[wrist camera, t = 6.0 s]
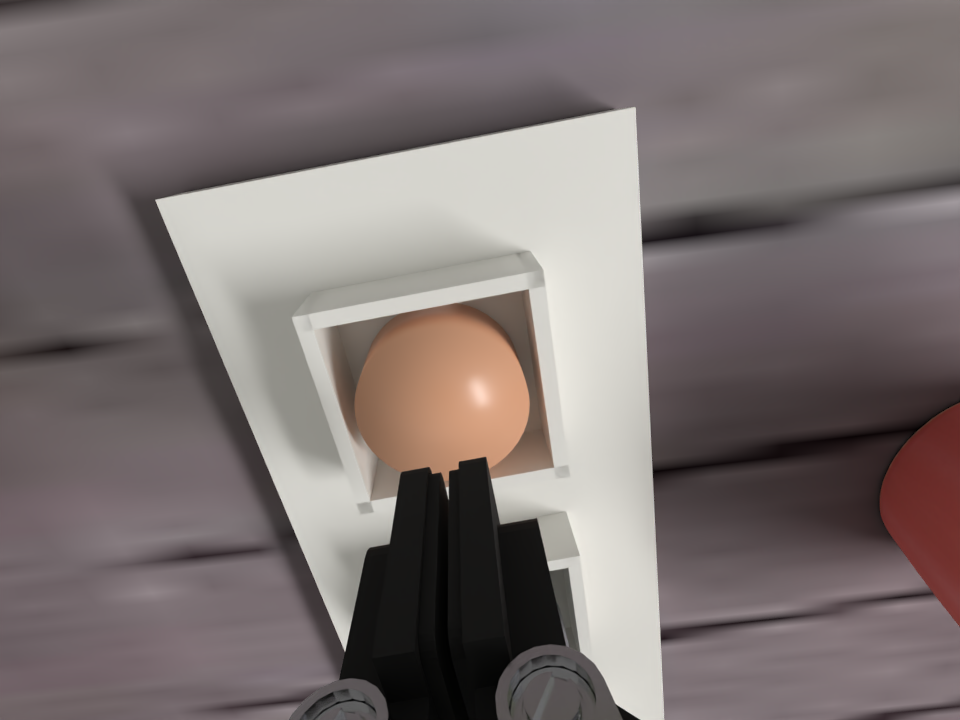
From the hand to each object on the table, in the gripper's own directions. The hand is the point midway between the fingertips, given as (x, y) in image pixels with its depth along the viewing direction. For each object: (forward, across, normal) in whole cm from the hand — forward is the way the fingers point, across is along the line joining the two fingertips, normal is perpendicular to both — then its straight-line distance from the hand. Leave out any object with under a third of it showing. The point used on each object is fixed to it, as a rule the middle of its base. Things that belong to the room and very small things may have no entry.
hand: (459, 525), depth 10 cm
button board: (+8, 0, +8) cm, 11 cm away
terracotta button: (+5, 0, -1) cm, 6 cm away
